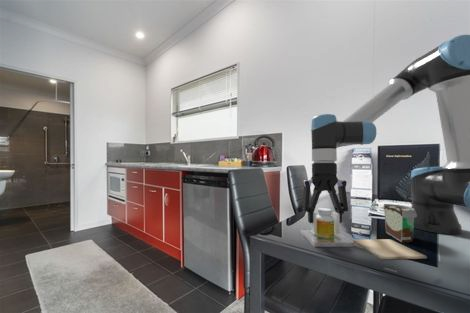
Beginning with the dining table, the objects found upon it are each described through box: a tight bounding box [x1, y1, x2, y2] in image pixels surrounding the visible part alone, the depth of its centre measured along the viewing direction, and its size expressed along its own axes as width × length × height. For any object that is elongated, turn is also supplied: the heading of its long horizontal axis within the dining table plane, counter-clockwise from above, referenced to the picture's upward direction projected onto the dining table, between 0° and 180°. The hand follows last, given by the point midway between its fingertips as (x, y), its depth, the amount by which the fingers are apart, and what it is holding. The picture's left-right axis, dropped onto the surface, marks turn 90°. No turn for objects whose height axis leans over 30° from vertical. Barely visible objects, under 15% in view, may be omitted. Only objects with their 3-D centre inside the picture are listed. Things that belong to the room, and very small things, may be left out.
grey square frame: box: [299, 229, 356, 248], centre depth 66 cm, size 12×12×1 cm
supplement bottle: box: [315, 207, 335, 240], centre depth 66 cm, size 5×5×10 cm
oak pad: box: [352, 238, 428, 260], centre depth 59 cm, size 12×12×1 cm
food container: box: [382, 203, 417, 243], centre depth 68 cm, size 12×6×10 cm, turn 168°
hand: (325, 232), depth 66 cm, fingers open, 7 cm apart
